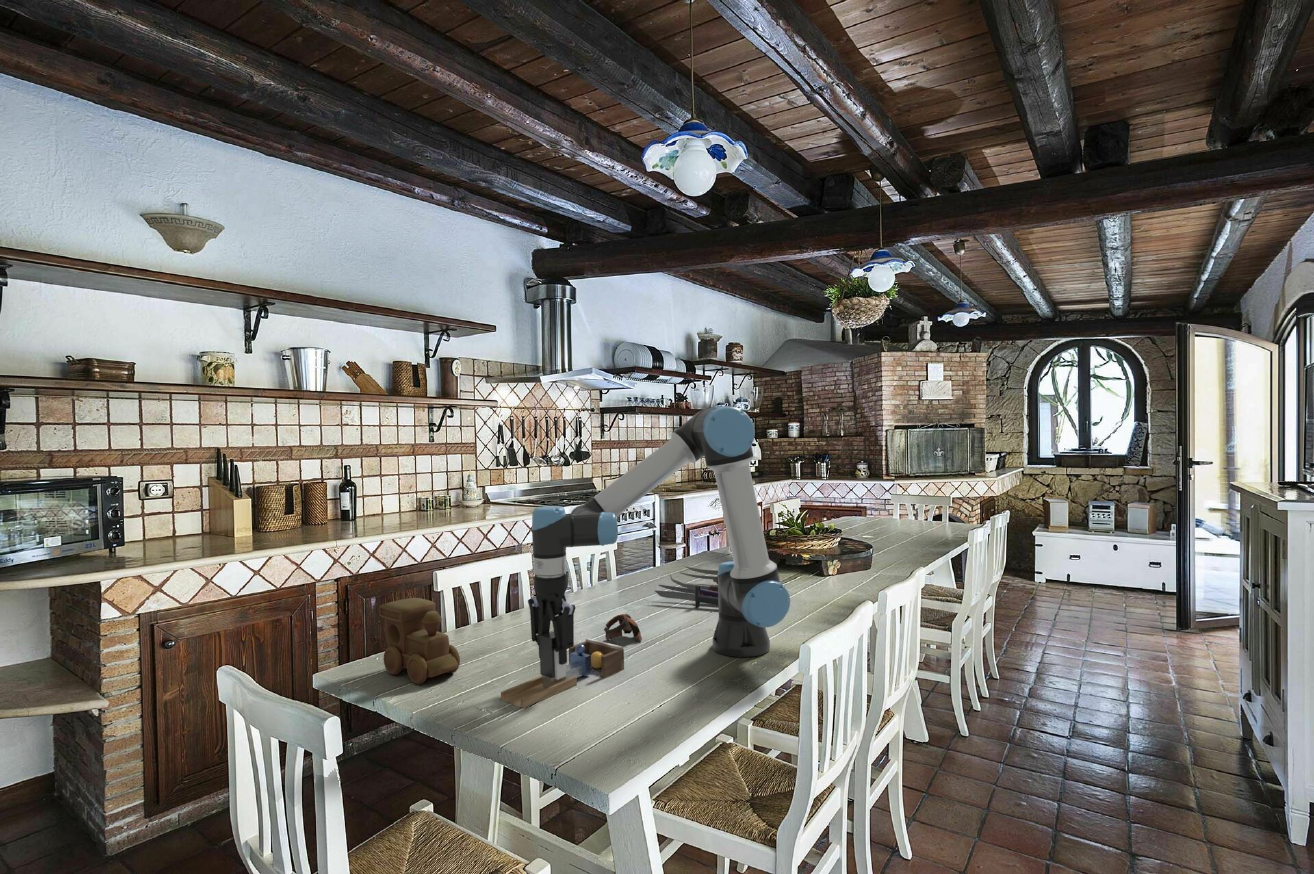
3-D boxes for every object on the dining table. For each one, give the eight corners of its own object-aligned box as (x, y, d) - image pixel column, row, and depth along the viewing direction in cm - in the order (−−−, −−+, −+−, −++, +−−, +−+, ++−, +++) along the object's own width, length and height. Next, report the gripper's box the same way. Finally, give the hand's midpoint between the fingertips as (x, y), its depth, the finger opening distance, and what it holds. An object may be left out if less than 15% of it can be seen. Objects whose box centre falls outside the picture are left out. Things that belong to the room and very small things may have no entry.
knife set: (683, 577, 262) (684, 557, 262) (769, 588, 249) (769, 567, 249) (646, 602, 230) (647, 579, 229) (742, 616, 217) (743, 592, 217)
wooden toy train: (377, 671, 171) (375, 605, 170) (418, 658, 180) (416, 595, 179) (423, 690, 158) (421, 618, 158) (465, 675, 167) (463, 607, 167)
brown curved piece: (643, 647, 186) (628, 623, 185) (613, 661, 188) (598, 638, 186) (646, 623, 198) (631, 601, 196) (617, 637, 200) (603, 614, 198)
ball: (598, 655, 167) (597, 671, 167) (609, 651, 171) (608, 667, 170) (586, 651, 170) (585, 668, 170) (597, 648, 173) (597, 664, 173)
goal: (624, 669, 169) (623, 646, 169) (604, 677, 163) (604, 654, 163) (588, 659, 176) (588, 637, 176) (569, 667, 171) (568, 645, 171)
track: (576, 684, 159) (576, 677, 159) (523, 708, 147) (523, 699, 147) (554, 678, 164) (554, 670, 164) (500, 700, 151) (500, 691, 151)
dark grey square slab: (591, 673, 165) (590, 625, 165) (554, 689, 155) (553, 639, 155) (576, 669, 168) (575, 622, 168) (539, 684, 159) (538, 635, 158)
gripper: (513, 573, 160) (516, 672, 161) (564, 582, 150) (567, 688, 150) (537, 566, 166) (540, 662, 167) (588, 575, 156) (591, 678, 156)
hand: (553, 675), depth 159 cm, fingers closed on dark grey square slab, 4 cm apart
